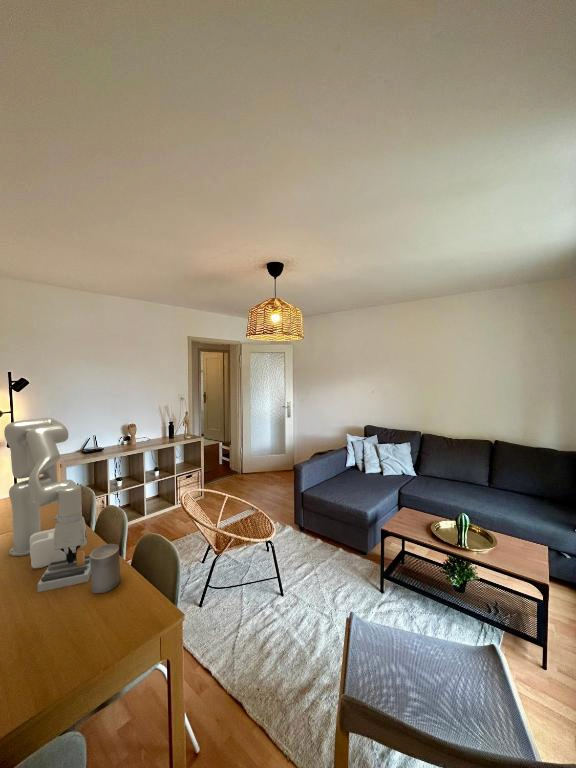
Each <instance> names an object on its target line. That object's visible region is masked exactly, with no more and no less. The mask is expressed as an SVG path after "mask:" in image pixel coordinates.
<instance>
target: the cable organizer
mask: <svg viewBox="0 0 576 768" xmlns="http://www.w3.org/2000/svg"><path fill="white" fill-rule="evenodd" d="M54 532H55V527H54V528H51V529H46V530H45V529H44V530H41V532H37V533H34V534H33V535H31V536H30V554H29V557H30V561H31V562H30V564H31V565H30V566H31V568H33V569H41V568H45V567H48V566H49V565H50V564H51V563H52V562H57V561H62V560H66V554H65V552H63V551H61V550H55V548H54ZM70 548H71V550H72V548H73V547H70Z"/></svg>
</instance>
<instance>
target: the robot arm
mask: <svg viewBox="0 0 576 768" xmlns="http://www.w3.org/2000/svg"><path fill="white" fill-rule="evenodd" d="M3 432H4V433H3V434H4V439H5V441H6V443H7V445H8V447H9V450H10V462H11V472H12V476H13V478H15V479H18V480H21V479H26V478H27V480H22V481H19V482H16V483H14V484H13V485H12V486H11V487H10V488H9V489H8V490H9V491H8V496H9V500H10V504H11V511H12V528H13V529H12V534H13V546H12V547H11V548H10V549H9V555H10V556H11V557H23V556H27V555H30V536H31V535H33V534H34V533H37V532H41V531H42V529H41V525H42V524H41V509H40V507H45V506H49V505H51V504H55V503H57V505H58V507H57V510H58V511H57V512H58V513H57V514H56V515H54V517H53V519H54V520H57V521H56V523H55V527H54V528H55V532H54V548H55V550H61V551H63V552H65V554H66V561H68V564H70V563H73V562H74V560H75V559H76V558H77V550H79V549H80V548H81V547H85V546H86V545H87V544H88V540H87V536H88V535H87V526H86V525H87V524H86V521H85V517H84V516H83V512H82V505H83V504H82V486H80V484H76V483H75V481H74V480H72V479H64V480H60V481H58V469H57V467H58V466H57V463H58V462H59V460H60V459H61V453H60V451H59V449H58V447H57V444H60V443H65V442H67V440H68V439H69V431H68V429H67V427H66V426H65V425H64V424H63V423H61V422H60V421H58V420H57V419H54V418H52V417H43V418H42V417H41V418H35V419H34V418H33V419H24V420H18V421H13V422H11V423H10V422H9V423H8V424H7V425H6V426H5V428H4V431H3ZM40 475H42V476H40ZM70 547H73V548H72V550H71V548H70Z"/></svg>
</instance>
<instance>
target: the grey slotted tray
mask: <svg viewBox="0 0 576 768" xmlns="http://www.w3.org/2000/svg"><path fill="white" fill-rule="evenodd" d="M85 561H86V565H82V566H77V567H76V564H77V557H76V559H75V560H74V562H73V563H70V564H68V561H66V560H62V561H57V562H52V563H51V564H49V565H48V566H47V568H46V570H45V571H44V573H43V574H42V577H41V578H40V579H39V581H38V583H37V593H41V592H46V591H50V590H56V589H59V588H64V587H69V586H74V585H78V584H79V585H80V584H84V583H88V582H89V580H90V579H91V567H90V554H89V555H86V556H85Z"/></svg>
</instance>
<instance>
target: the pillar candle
mask: <svg viewBox="0 0 576 768" xmlns="http://www.w3.org/2000/svg"><path fill="white" fill-rule="evenodd" d="M89 555H90V567H91V575H90V587H91V592H92V593H93V594H104V593H107V592H111V591H112V590H114V589H115V588H116V587H117V586H119V584H120V582H121V562H120V547H119V544H116V543H106V544H102V545H99V546H97V547H95V548H94V549H93V550H92V551H91V552H90V554H89Z"/></svg>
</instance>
